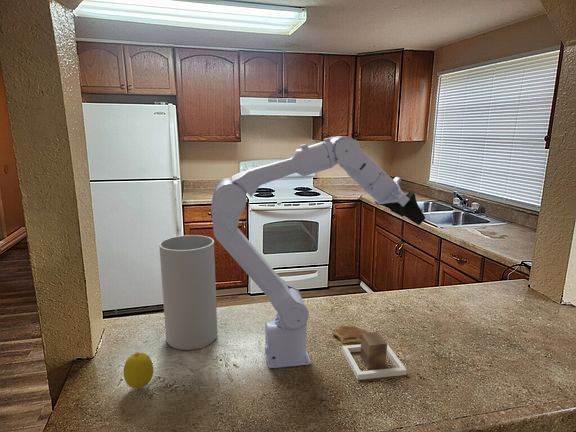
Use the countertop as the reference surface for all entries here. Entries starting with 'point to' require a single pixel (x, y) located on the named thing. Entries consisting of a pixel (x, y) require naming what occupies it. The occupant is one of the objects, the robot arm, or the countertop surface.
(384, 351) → the walnut block
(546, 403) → the countertop surface
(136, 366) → the lemon
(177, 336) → the cylinder vase
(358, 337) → the shard
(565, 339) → the countertop surface
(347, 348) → the white flat square frame
